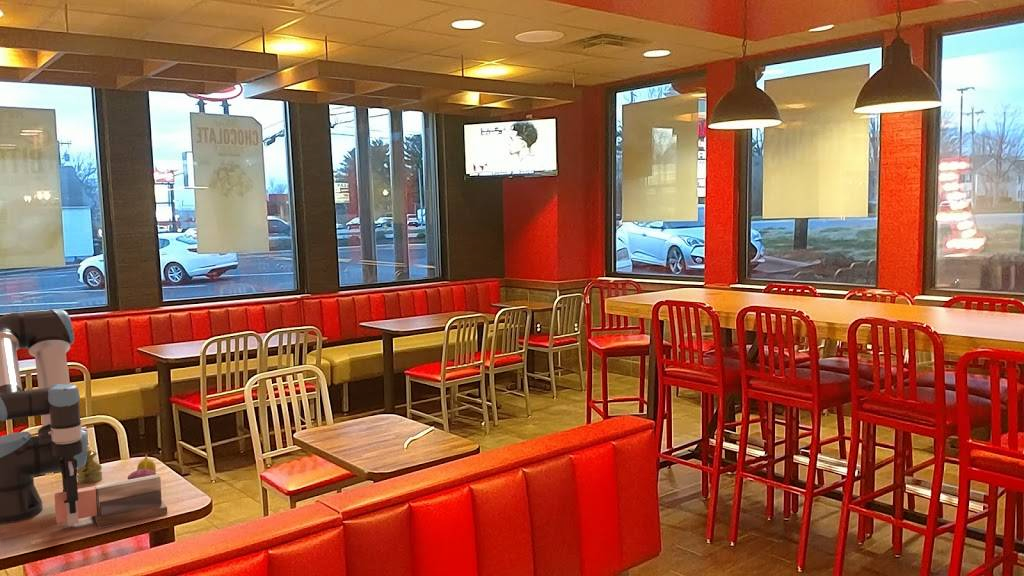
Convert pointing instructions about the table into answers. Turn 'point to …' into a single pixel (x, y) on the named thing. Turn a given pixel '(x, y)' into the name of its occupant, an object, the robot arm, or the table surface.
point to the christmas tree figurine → (89, 470)
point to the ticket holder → (129, 500)
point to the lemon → (149, 465)
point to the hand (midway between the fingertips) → (72, 521)
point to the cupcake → (142, 472)
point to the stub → (85, 504)
